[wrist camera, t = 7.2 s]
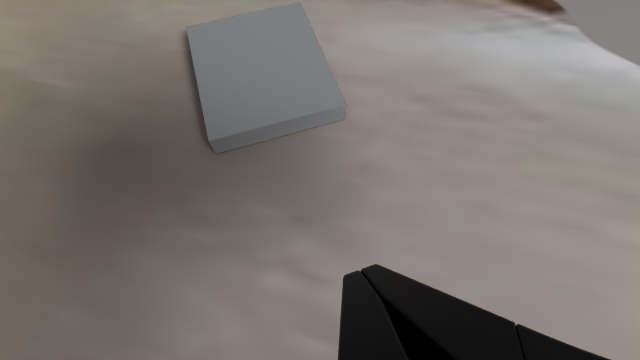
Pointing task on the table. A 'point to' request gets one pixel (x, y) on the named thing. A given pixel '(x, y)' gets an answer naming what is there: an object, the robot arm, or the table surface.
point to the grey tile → (262, 77)
